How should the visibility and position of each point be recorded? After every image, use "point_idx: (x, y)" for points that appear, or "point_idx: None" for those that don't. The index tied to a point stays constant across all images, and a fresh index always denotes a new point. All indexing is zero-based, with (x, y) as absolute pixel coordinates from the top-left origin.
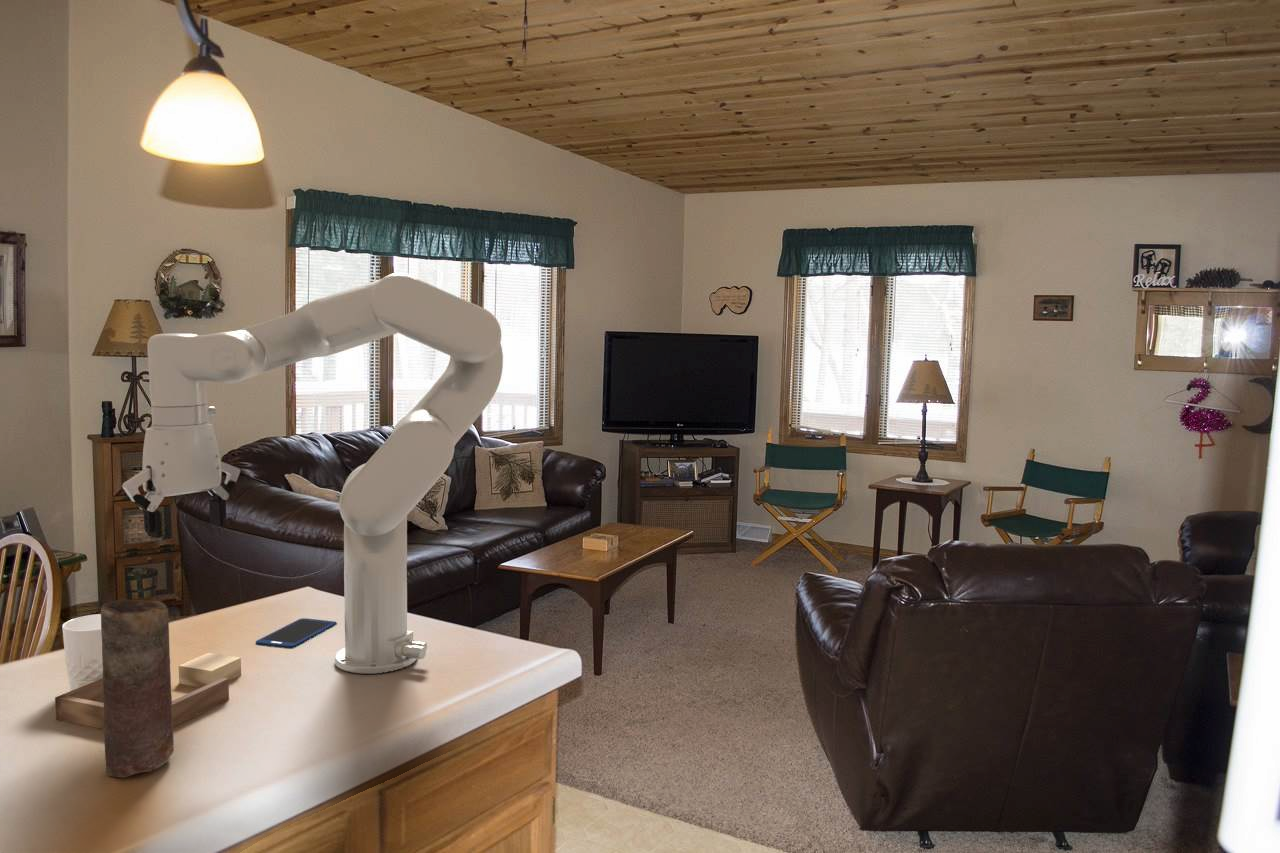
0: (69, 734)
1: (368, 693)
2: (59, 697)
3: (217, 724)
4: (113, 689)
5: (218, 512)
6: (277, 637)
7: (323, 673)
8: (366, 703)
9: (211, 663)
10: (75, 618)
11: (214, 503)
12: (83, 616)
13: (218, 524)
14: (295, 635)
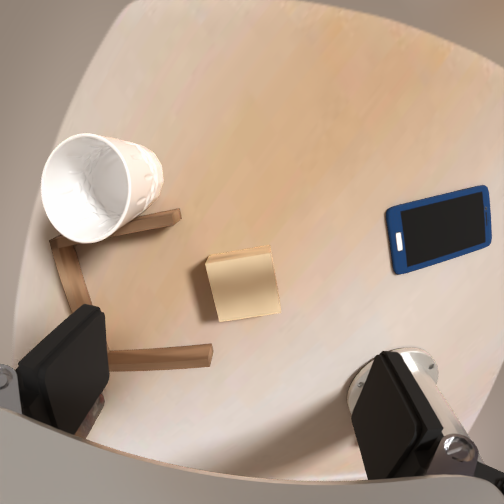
0: (60, 283)
1: (307, 436)
2: (52, 244)
3: (165, 386)
4: None
5: (365, 449)
6: (415, 225)
7: (334, 374)
8: (286, 447)
9: (239, 297)
10: (74, 138)
11: (389, 458)
12: (87, 136)
13: (355, 409)
14: (432, 241)
